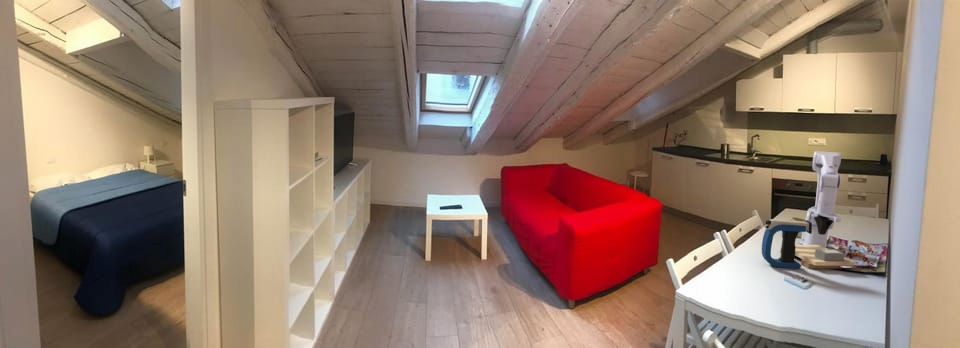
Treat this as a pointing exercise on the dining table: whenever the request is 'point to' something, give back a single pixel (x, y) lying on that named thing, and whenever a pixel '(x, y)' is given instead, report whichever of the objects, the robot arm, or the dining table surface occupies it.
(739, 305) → the dining table surface
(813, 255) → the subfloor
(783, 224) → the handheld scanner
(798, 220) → the mug
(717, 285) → the dining table surface
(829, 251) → the block
